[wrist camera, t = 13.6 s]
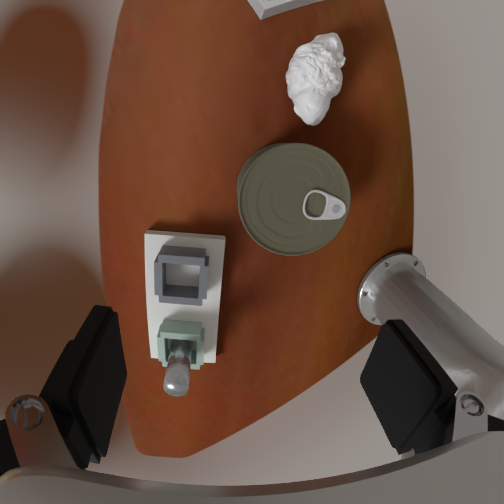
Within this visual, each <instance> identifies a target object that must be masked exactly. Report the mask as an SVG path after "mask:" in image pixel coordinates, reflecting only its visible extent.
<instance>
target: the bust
mask: <svg viewBox="0 0 504 504" xmlns="http://www.w3.org/2000/svg"><path fill="white" fill-rule="evenodd" d="M343 51H344V50H343V46H342V43H341V40H340V38H339V36H338V34H336V33H328V34H324V35H317V36H316V37H315V39H314V40H313V41H311V42H310V43H307V44H304V45H302V46H300V47H299V48H297V50H296V52H295V53H294V55H293V58H292V59H291V61H290V63H289V68H288V71H287V73H286V82H287V84H288V95H289V97H290V98H291V99H292V101H293V103H294V111H295V113H296V114H297V115H298V116H300V117H301V118H302V120H303V121H304V122H305V123H306V124H307V125H311V126H315V125H317V124H319V123H320V122H321V121H322V119H323V118H324V116H325V114H326V113H327V111H328V110H329V107H330V100H331V99H332V98H333V97H334V96H336V95H337V94H338V93H339V92H340V90H341V86H342V80H343V77H342V72H341V69H340V68H341V67H342V66H343V65H344V63H345V59H346V58H345V57H344V56H343Z"/></svg>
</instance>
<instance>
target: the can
mask: <svg viewBox="0 0 504 504" xmlns="http://www.w3.org/2000/svg"><path fill="white" fill-rule="evenodd" d="M237 198H238V209H239V214H240V218H241V221H242V223H243V225H244V227H245V229H246V231H247V232H248V234H249V235H250V236H251V238H252V239H253V240H254V241H255V242H257V243H258V244H259V245H260V246H262V247H263V248H265V249H267V250H269V251H271V252H274V253H277V254H281V255H288V256H297V255H304V254H308V253H311V252H314V251H316V250H318V249H320V248H322V247H323V246H325V245H326V244H328V243H329V242H330V241H331V240H332V239H333V238H334V237H335V236H336V235H337V234H338V233H339V231H340V230H341V228H342V227H343V225H344V223H345V221H346V219H347V216H348V213H349V209H350V202H351V192H350V185H349V182H348V179H347V176H346V174H345V172H344V170H343V168H342V167H341V165H340V164H339V163H338V161H337V160H336V159H335V158H334V157H333V156H332V155H330V154H329V153H328V152H326V151H325V150H323V149H321V148H319V147H316V146H313V145H310V144H305V143H276V144H272V145H269V146H266V147H264V148H262V149H260V150H258V151H257V152H255V153H254V154H253V155H252V156H251V157H250V158H249V159H248V160H247V161H246V163H245V164H244V166H243V167H242V169H241V172H240V174H239V177H238V181H237Z"/></svg>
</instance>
